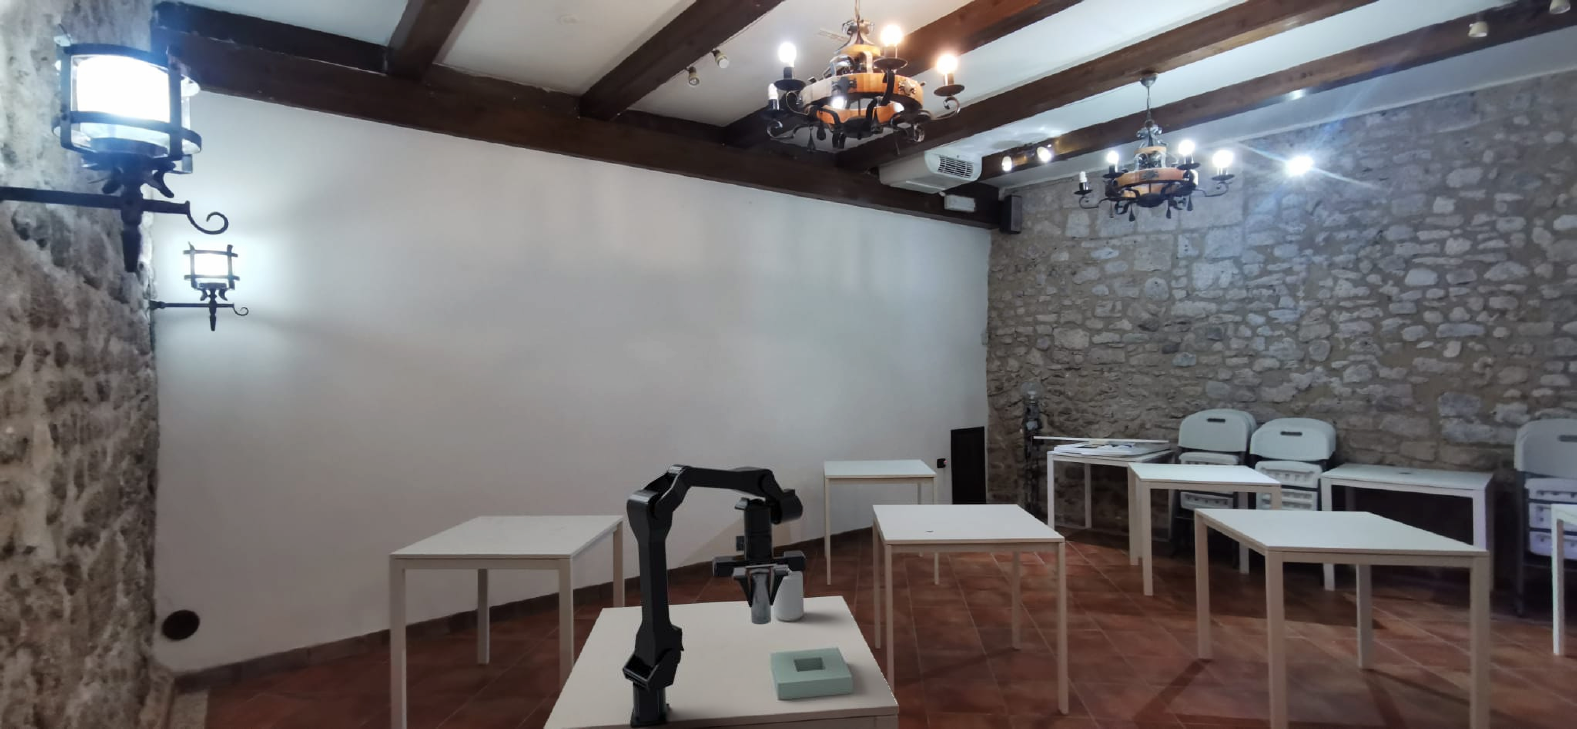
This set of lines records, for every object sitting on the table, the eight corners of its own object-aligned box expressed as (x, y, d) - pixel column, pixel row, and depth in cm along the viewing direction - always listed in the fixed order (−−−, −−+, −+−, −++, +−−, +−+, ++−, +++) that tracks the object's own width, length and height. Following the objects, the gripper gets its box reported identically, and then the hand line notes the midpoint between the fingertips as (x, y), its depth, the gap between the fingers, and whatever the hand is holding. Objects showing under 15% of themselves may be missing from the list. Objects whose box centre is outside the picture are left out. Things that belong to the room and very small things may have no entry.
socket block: (852, 692, 132) (852, 676, 132) (778, 699, 131) (777, 683, 131) (838, 661, 146) (838, 647, 146) (770, 667, 145) (770, 652, 145)
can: (767, 619, 172) (766, 570, 172) (782, 609, 178) (780, 562, 178) (795, 624, 168) (793, 573, 168) (809, 613, 175) (807, 565, 175)
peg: (772, 623, 143) (770, 573, 143) (752, 625, 142) (750, 575, 142) (769, 616, 147) (768, 567, 147) (750, 618, 146) (748, 569, 146)
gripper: (797, 517, 154) (799, 589, 154) (710, 523, 151) (713, 596, 151) (805, 529, 143) (808, 607, 143) (712, 536, 140) (715, 615, 140)
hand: (760, 605), depth 144 cm, fingers closed on peg, 4 cm apart
